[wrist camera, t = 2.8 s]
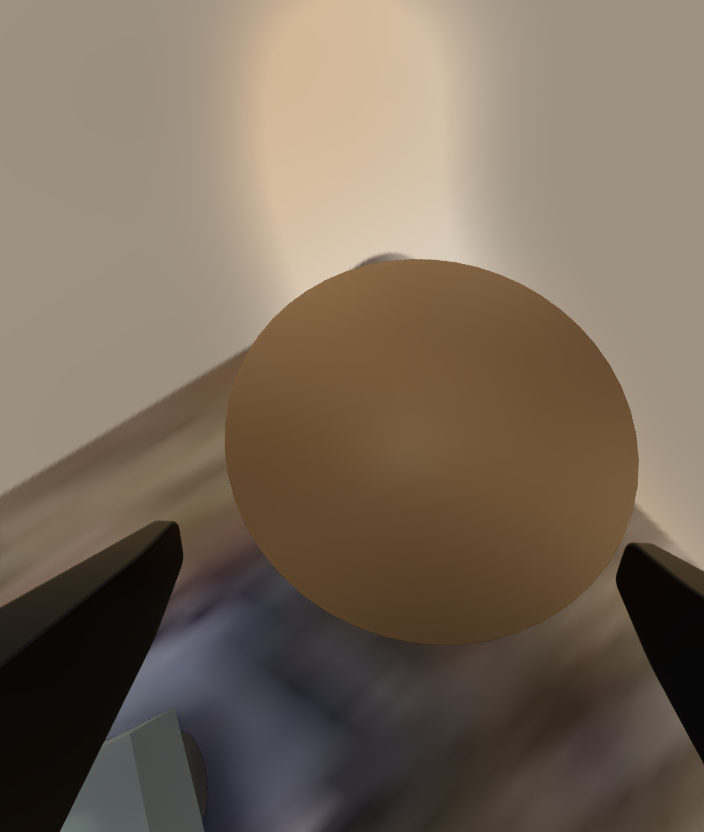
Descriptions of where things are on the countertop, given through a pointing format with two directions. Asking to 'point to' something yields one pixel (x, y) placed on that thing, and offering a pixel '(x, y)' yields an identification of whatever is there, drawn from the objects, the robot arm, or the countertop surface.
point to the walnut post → (431, 452)
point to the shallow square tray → (144, 783)
